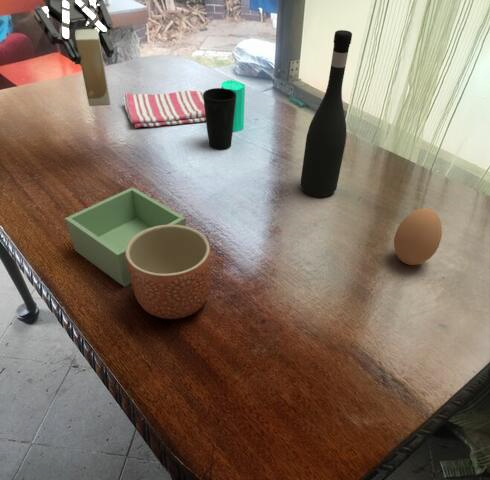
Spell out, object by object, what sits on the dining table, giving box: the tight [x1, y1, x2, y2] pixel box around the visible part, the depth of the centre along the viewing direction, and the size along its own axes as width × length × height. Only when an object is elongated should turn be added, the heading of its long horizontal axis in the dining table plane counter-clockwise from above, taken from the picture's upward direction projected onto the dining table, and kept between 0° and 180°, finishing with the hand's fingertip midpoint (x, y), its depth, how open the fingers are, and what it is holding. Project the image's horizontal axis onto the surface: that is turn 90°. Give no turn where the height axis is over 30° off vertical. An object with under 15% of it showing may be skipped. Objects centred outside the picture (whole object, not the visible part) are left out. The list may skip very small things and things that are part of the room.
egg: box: [393, 207, 443, 266], centre depth 79 cm, size 8×8×11 cm
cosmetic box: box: [74, 28, 111, 107], centre depth 90 cm, size 6×4×12 cm
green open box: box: [64, 186, 187, 288], centre depth 81 cm, size 15×15×7 cm
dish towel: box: [122, 90, 206, 129], centre depth 124 cm, size 17×23×4 cm
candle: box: [221, 77, 246, 133], centre depth 116 cm, size 6×6×12 cm
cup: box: [202, 87, 236, 151], centre depth 109 cm, size 8×8×12 cm
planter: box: [125, 225, 212, 320], centre depth 70 cm, size 12×12×11 cm
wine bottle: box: [300, 29, 353, 198], centre depth 89 cm, size 8×8×30 cm
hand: (95, 58), depth 88 cm, fingers closed on cosmetic box, 6 cm apart
